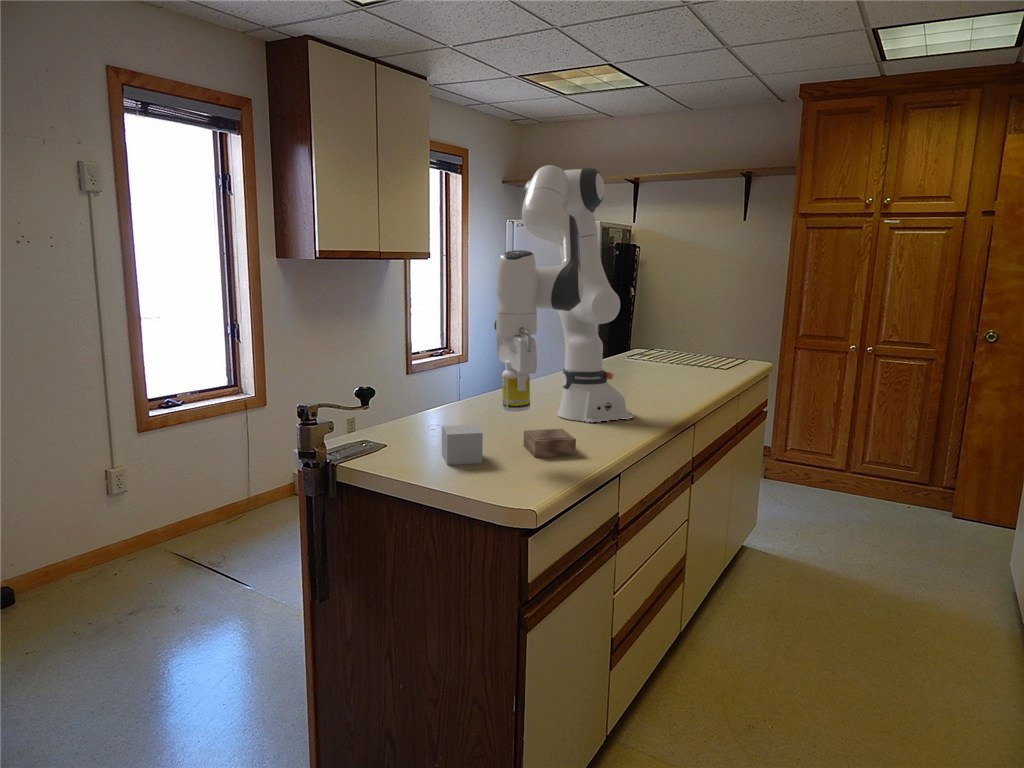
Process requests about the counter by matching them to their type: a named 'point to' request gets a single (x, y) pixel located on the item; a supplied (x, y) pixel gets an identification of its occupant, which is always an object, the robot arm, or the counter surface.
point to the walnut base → (549, 443)
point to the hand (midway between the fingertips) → (516, 387)
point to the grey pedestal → (462, 444)
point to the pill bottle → (514, 391)
